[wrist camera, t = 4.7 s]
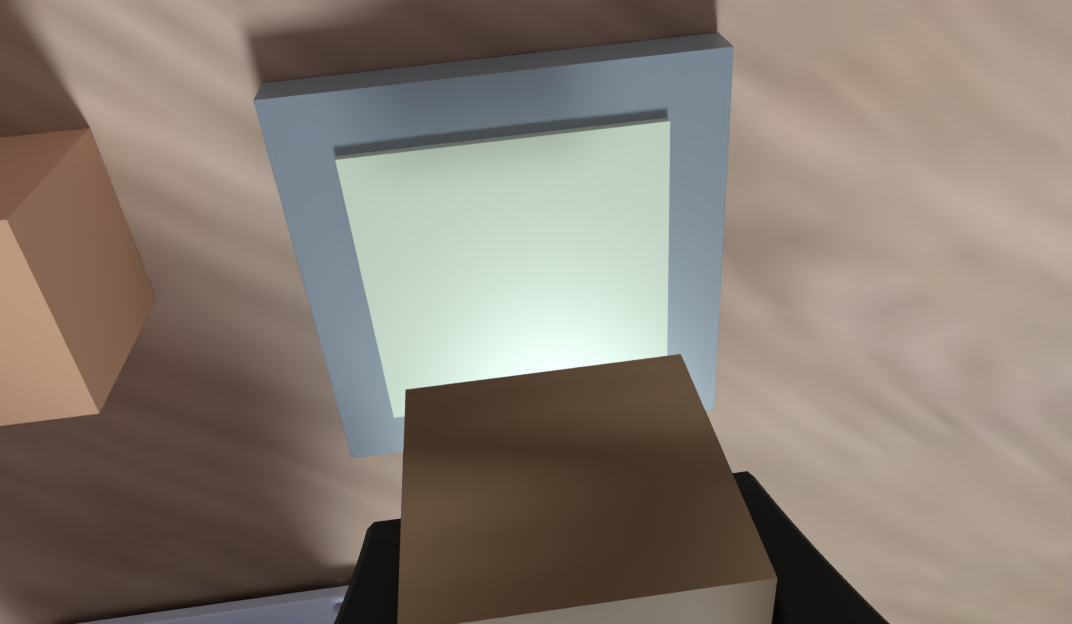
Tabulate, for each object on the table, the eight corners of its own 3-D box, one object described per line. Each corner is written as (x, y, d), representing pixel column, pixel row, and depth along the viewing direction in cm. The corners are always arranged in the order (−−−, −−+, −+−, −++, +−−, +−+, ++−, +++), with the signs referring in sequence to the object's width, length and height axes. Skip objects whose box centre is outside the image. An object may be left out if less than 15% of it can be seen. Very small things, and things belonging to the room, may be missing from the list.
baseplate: (354, 431, 21) (351, 463, 20) (262, 83, 16) (251, 103, 15) (702, 384, 22) (716, 415, 21) (718, 32, 17) (737, 49, 16)
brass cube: (444, 573, 14) (449, 821, 11) (405, 389, 12) (396, 632, 9) (676, 540, 14) (752, 774, 11) (680, 354, 12) (777, 577, 9)
